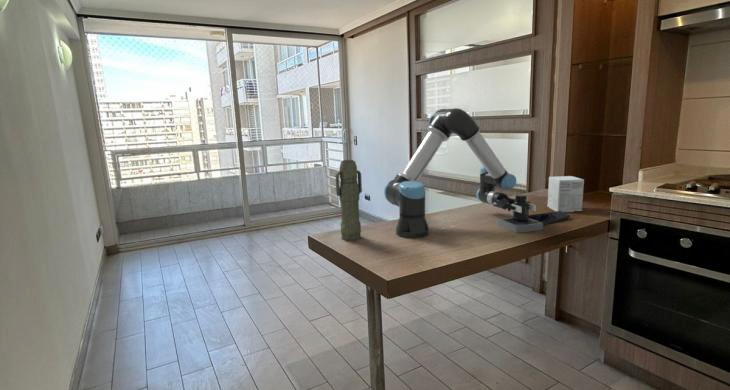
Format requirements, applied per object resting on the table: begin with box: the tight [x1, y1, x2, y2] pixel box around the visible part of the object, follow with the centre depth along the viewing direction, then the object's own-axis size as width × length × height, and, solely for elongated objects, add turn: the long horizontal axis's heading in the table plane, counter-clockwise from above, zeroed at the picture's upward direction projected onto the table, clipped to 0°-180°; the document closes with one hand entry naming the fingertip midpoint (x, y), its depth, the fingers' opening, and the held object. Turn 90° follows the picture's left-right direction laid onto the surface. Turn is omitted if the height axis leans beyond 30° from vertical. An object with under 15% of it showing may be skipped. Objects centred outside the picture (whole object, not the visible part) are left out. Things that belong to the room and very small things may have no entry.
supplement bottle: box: [512, 193, 530, 222], centre depth 183 cm, size 7×7×12 cm
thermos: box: [335, 159, 363, 242], centre depth 174 cm, size 9×12×35 cm
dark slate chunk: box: [529, 211, 571, 226], centre depth 197 cm, size 15×22×5 cm
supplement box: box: [547, 175, 585, 213], centre depth 214 cm, size 13×13×18 cm
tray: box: [497, 216, 544, 234], centre depth 184 cm, size 14×14×3 cm
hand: (528, 208), depth 178 cm, fingers closed on supplement bottle, 7 cm apart
